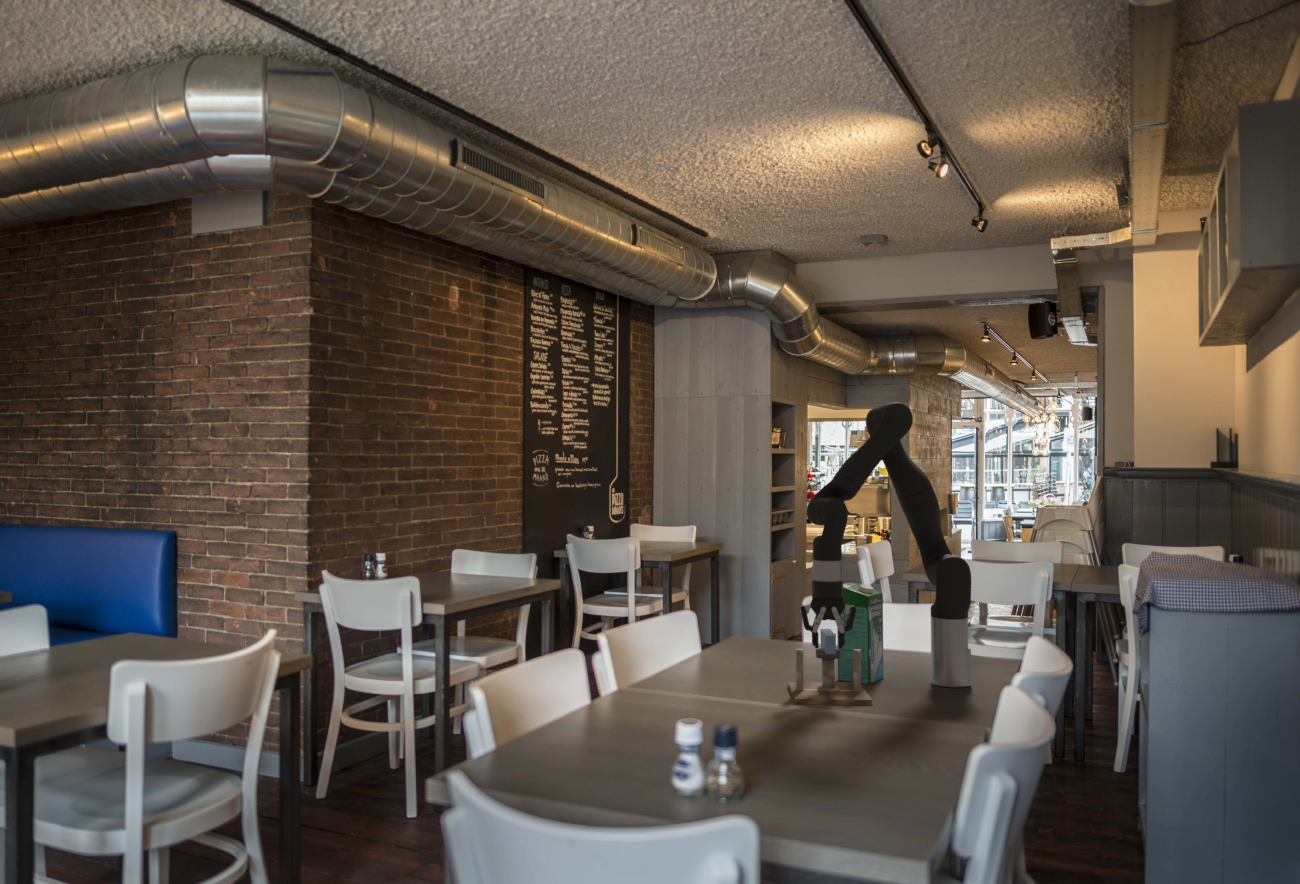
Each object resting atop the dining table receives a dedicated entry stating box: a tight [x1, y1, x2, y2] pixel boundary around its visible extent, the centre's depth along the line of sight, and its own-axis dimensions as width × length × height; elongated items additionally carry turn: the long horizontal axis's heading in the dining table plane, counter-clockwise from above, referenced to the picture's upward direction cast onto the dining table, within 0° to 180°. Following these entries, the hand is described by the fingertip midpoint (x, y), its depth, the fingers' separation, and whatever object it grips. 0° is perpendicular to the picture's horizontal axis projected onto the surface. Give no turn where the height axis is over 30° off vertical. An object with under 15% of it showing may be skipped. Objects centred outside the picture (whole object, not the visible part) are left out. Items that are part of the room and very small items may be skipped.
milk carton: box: [836, 581, 885, 685], centre depth 248 cm, size 9×9×25 cm
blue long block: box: [815, 628, 841, 660], centre depth 229 cm, size 6×10×6 cm, turn 177°
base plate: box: [787, 648, 873, 706], centre depth 229 cm, size 18×18×11 cm
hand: (828, 647), depth 229 cm, fingers open, 5 cm apart
